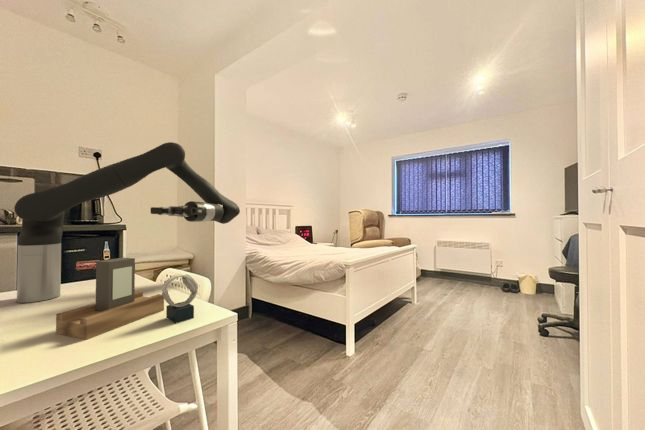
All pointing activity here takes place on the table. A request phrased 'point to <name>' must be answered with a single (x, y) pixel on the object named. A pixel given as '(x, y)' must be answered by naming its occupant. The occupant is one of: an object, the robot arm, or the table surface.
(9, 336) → the table surface
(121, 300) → the tall taupe pillar block
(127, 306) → the wooden channel tray
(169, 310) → the watch
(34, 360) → the table surface
